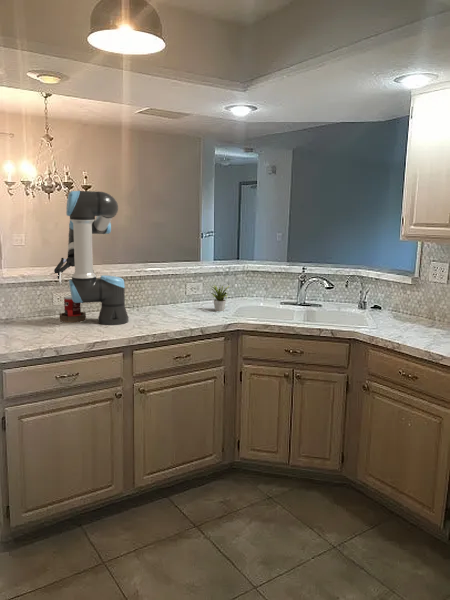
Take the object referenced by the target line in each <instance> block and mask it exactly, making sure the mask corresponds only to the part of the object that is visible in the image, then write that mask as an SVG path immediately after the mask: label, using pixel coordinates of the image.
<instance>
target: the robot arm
mask: <svg viewBox="0 0 450 600" xmlns="http://www.w3.org/2000/svg"><path fill="white" fill-rule="evenodd" d="M118 212H119V205H118V202H117V199H116V198H114V197H113V195H111V194H110V193H108V192H105V191H95V190H94V191H93V190H92V191H91V190H89V191H88V190H71V191H69V192H68V195H67V199H66V212H65V213H66V216H67V217H69V222H68V227H69V229H68V241H67V242H68V244H67V245H68V246H67V258H64V257H61V258H60V262H59V263H58V264H57V266H56V267H55V268H54V270H53V272H54V274H55V273H58V275H59V276H56V278H57V280H59V281H58V283H59V285H60V286H61V285H62V279H61V274H62V273H64V272H65V271H66V270H67V269H69V268H70V267H74V273H73V274H72V275H71V279H68V284H69V291H70V296H71V297H72V300H73V302H74V303H80V304H86V303H87V304H88V303H100V304H101V306H100V311H99V314H98V317H97V322H98V323H99V324H101V325H123V324H126V323H128V322H129V315H128V312H127V309H126V304H125V303H126V301H125V300H126V299H125V295H126V293H125V288H126V286H125V279H123V278H122V277H120V276H114V275H100V277H99V278H97V275H96V273H94V272H95V271H94V265H93V264H94V259H93V257H94V256H93V235H106V234H109V235H110V234H111V231H112V223H111V221H112V219H113V218H115V217H116V215H118V214H117V213H118Z"/></svg>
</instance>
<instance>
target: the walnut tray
mask: <svg viewBox="0 0 450 600" xmlns="http://www.w3.org/2000/svg"><path fill="white" fill-rule="evenodd" d="M86 320H87V314H86V312H84V311H81V315H80V316H69V317H68V316H65V312H61V313H59V321H60V322H61V323H69V324H70V323H73V324H74V323H80V322H85V321H86Z"/></svg>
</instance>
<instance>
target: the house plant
mask: <svg viewBox="0 0 450 600" xmlns="http://www.w3.org/2000/svg"><path fill="white" fill-rule="evenodd" d="M221 285H222V284H219V288H218V287H217V285H213V286H212V285H210V287H211V291H213V292H211V293H210V295H211V296H212V297H213V298H215V299H213V305H214V311H215V312H217V311H223V312H225V308H226V302H227V299H225V297H226V298H228V292H226V290H227V289H228V288H229V287H230V285H228V286H227V287H226V288H224V287H223V286H224V285H222V286H221ZM223 289H224V290H223Z"/></svg>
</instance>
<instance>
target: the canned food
mask: <svg viewBox="0 0 450 600" xmlns="http://www.w3.org/2000/svg"><path fill="white" fill-rule="evenodd" d="M63 303H64V304H63V305H64V308H63V309H64V313H65V316H68V317H69V316H80V315H81V312H82V311H81V309H82V308H81V303H74V302H73V300H72V297H71V295H65V296H64V297H63Z"/></svg>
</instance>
